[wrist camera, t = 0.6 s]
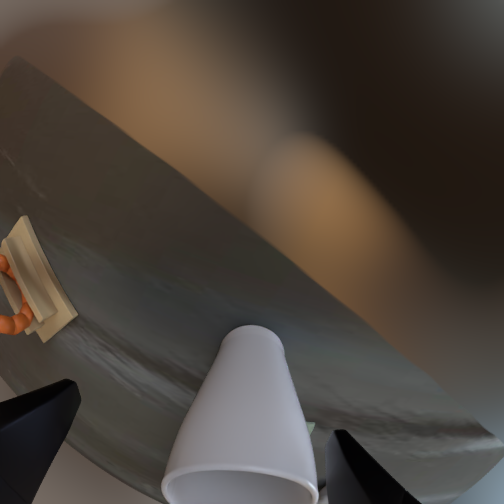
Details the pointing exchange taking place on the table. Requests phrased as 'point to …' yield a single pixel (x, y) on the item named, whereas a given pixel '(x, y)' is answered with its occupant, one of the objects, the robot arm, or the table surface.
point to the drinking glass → (244, 431)
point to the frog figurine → (323, 496)
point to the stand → (34, 282)
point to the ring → (26, 314)
